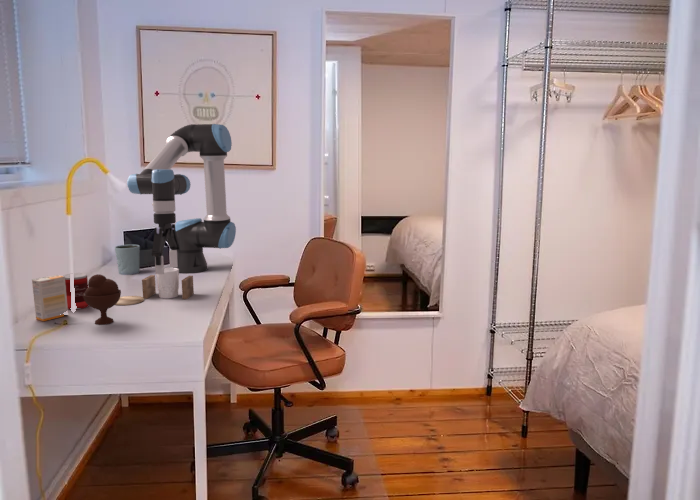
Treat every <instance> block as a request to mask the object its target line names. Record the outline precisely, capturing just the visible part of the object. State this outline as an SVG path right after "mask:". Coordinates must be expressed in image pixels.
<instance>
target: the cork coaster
mask: <svg viewBox="0 0 700 500" xmlns="http://www.w3.org/2000/svg"><path fill="white" fill-rule="evenodd" d="M144 301H145V299H144V298H143V296H140V295H126V296H124V295H123V296H120V299H119V301H118V302H117V303H116V304H115V305H114V306H132V305H137V304H140V303H142V302H144Z"/></svg>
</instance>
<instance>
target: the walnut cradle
mask: <svg viewBox="0 0 700 500" xmlns="http://www.w3.org/2000/svg"><path fill="white" fill-rule="evenodd" d="M141 285H142V286H141V287H142V288H141V289H142V297H143V298H144V300H146V299H147V300H148V299H149V298H151V297H152V296H154V295H155V294H156V293H157V291H156V288H157V287H156V274H150V275H149V276H147V277H145V278H142V279H141ZM194 289H195V288H194V275H188V276H186V277H184V278H182V280H181V296H182V298H181V299H182V300H188V299H189V298H190V297H192V296H193V295H195V294H194V293H195V291H194Z"/></svg>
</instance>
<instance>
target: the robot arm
mask: <svg viewBox="0 0 700 500" xmlns="http://www.w3.org/2000/svg"><path fill="white" fill-rule="evenodd" d="M232 144H233V143H232V136H231V132H230V131H229V129H228V127H226V125H223V124H218V123H212V124H211V123H209V124H208V123H206V124H204V123H203V124H202V123H200V124H199V123H198V124H197V123H196V124H194V123H192V124H187V125H184V126H182V127H181V128H178V129H177V130H175V131H174V132H173V133H171V134H170V135H169V136H168V138H166V140H165V145H164V146H163V147H162V148H161V149H160V151H158V153H157V154H156V155H155V156H154V157H153V159H151V161H150V162H149V163H148V164H147V165H146V166H145V168H144V169H143V170H142V171H141V172H140V173H131V174H130V175H129V176H128V177H127V181H126V182H127V183H126V184H127V187H128V191H129V192H130V193H131V194H133V195H134V194H135V195H152V203H151V205H152V208H153V212H154V213H153V222H154V224H155V225H158V227H154V235H153V243H152V250H151V256H152V257H154V267H155V268H154V270H155V275H157V274H164V268H165V267H164V265H165V263H164V255H163V252H164V248H165V244H166V242H167V244H168V247H169V250H168V251H169V253H168V254H169V268H178V269H179V274H193V273H200V272H205V271H208V269H209V268H208V267H209V266H208V262H207V260H206V257H205V254H204V249H205V248H206V249H208V248H209V249H228V248H230V247H232V245H233V244H234V241H235V238H236V232H237V229H236V228H237V227H236V224H235V222H233V221H231V216H229V215H228V213H227V212H228V211H227V197H226V196H227V195H226V194H227V193H226V174H225V159H226V158H227V157H228V153H229V152H230V151H231V150H232V146H233V145H232ZM191 152H192V153H193V152H197V153H199V157H200V158H201V159H202V160H203V173H204V186H205V187H204V190H205V204H206V205H205V207H206V215H205V216H204V218H203V219H202V218H201V217H200V218H199V217H198V218H197V217H196V218H187V219H182V220H179V221H176V220H177V219H176V216H177V215H176V213H175V212H176V197H175V196H176V195H181V196H182V195H184V194H187V193H188V191H189V190H190V189H191V180H190V179H189V177H188V176H187V175H185V174H181V173H177V174H175V172H174V171H173V169H172V168H173V167H174V165H175V164H176V163H177V162H178V161H179V160H180V158H181V157H184V156H186V155H187V153H191Z"/></svg>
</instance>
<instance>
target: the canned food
mask: <svg viewBox="0 0 700 500" xmlns="http://www.w3.org/2000/svg"><path fill="white" fill-rule="evenodd" d="M70 274H71V273H67V274H64V275H62V276H64V277H65V285H66V295H67V306H68V310H71V309H70V308H71V292H70ZM88 281H89V279H88V275H87V273H81V272H76V273H75V272H74V288H75V303H76V306H77V308H81V310H82V309H86V308H88V307H90V306H89V305H88V304H86V302H85V301H84V298H83V293H85V291H86V289H87V288H88V287H89V286H88Z"/></svg>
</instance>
